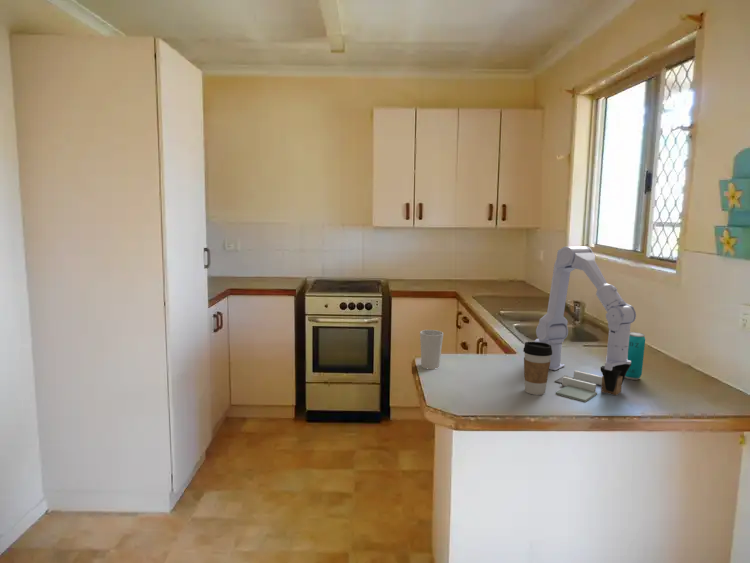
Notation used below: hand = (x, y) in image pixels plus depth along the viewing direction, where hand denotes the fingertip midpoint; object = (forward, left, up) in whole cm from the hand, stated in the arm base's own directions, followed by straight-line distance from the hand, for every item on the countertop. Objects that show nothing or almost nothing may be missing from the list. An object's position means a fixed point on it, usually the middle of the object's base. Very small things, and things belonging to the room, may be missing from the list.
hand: (613, 387), depth 165 cm
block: (-1, 0, -2) cm, 2 cm away
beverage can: (-1, +19, -2) cm, 19 cm away
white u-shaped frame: (-11, 0, -1) cm, 11 cm away
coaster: (-8, -10, -1) cm, 13 cm away
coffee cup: (-18, -17, -2) cm, 24 cm away
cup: (-55, -20, -2) cm, 58 cm away
